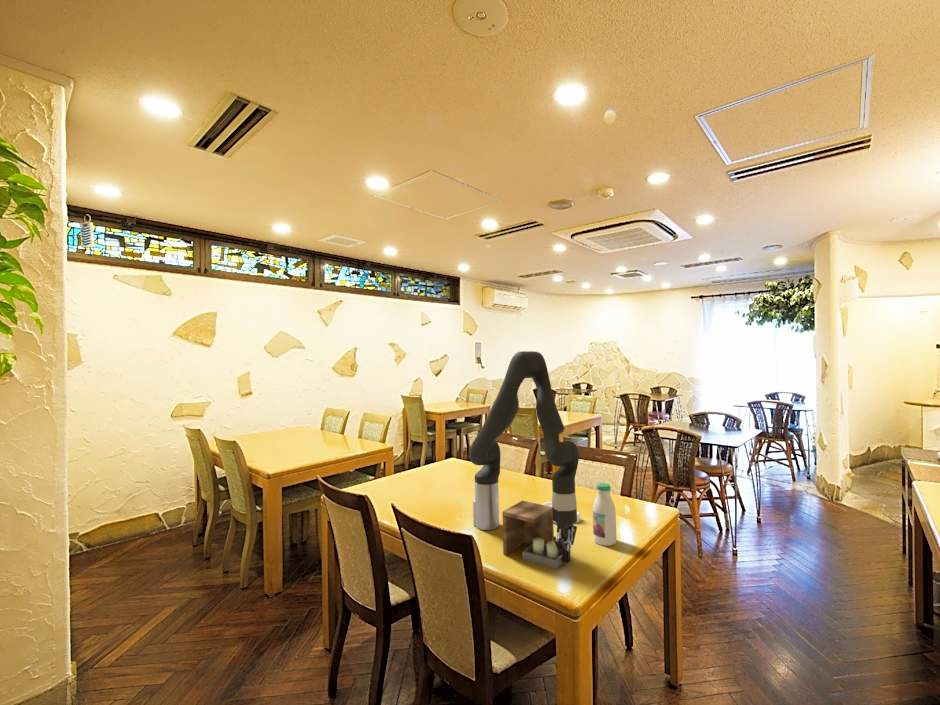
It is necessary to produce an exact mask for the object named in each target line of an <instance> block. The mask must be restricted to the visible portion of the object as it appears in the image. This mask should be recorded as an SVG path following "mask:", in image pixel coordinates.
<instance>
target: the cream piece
mask: <svg viewBox="0 0 940 705" xmlns="http://www.w3.org/2000/svg"><path fill="white" fill-rule="evenodd" d="M546 545H547V558H550V559H553V560H556V559H557V558H558V548H557V546H556V544H555V542H554V541H549V542H547V543H546Z"/></svg>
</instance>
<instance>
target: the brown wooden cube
mask: <svg viewBox="0 0 940 705" xmlns="http://www.w3.org/2000/svg"><path fill="white" fill-rule="evenodd" d="M554 535H555V533H554V522H553V512H552V507H550V506H545V505H542V504H541V503H540V504H539V503H535V502H532V501H528V500H527V501H526V500H521V501H519V502H517V503H515V504H514V505H512V506H510V507H508V508H507V509H505V510H502V547H503V548H502V553H503V555H504V556H508V555H509V554H511V553H512V552H513V551H515V550H516V549H518V548H519V547H520V546H522V545H523V544H528V545H532V544H533V538H535V537H540V538H543V539H544V544H546V543H547V542H549V541H554V540H553V537H554Z"/></svg>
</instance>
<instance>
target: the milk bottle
mask: <svg viewBox="0 0 940 705" xmlns="http://www.w3.org/2000/svg"><path fill="white" fill-rule="evenodd" d="M596 491H597V494H596V497H595V499H594V502H593V506H592V531H593V532H592V536H593V541H594V543H596V544H598V545H600V546H604V547H611V546H614V545H616V543H617V517H616V516H617V515H616V512H617V511H616V506H615V503H614V501H613V499H612V496H611V484H609V483H606V482H605V483H604V482H598V483H597V484H596Z"/></svg>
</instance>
